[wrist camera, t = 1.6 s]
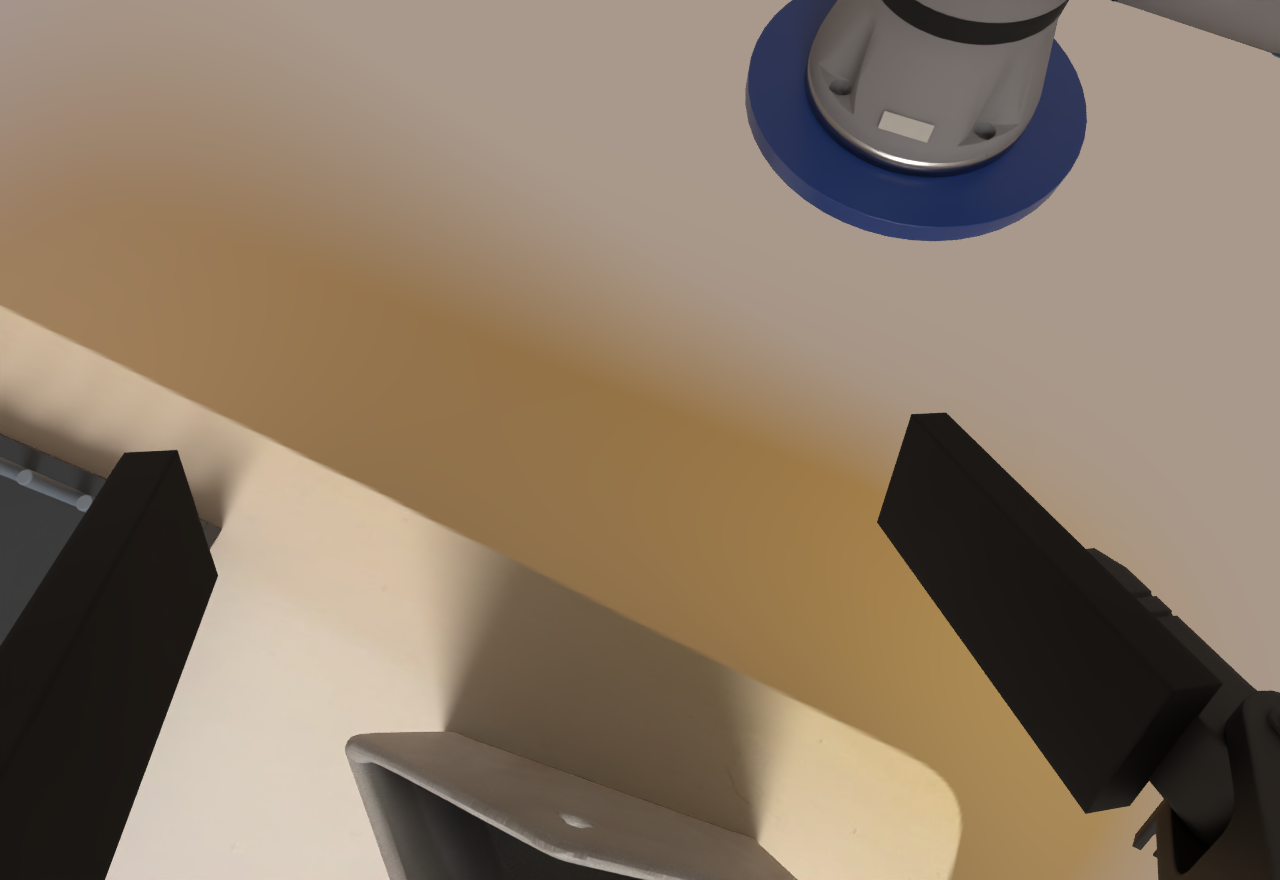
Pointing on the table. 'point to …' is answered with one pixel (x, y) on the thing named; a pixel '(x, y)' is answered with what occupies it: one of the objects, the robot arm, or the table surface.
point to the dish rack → (40, 520)
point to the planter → (528, 820)
